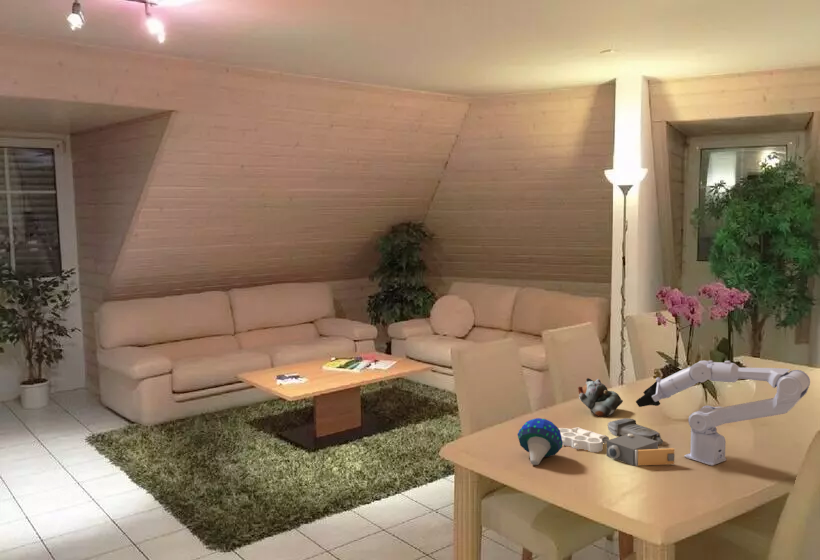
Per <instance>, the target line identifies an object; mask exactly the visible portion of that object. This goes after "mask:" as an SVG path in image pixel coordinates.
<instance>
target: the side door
mask: <svg viewBox="0 0 820 560" xmlns="http://www.w3.org/2000/svg"><path fill="white" fill-rule="evenodd" d="M658 465H659V466H661V465H675V448H674V447H671V448H669V447H668V448H658V449H645V450H635V465H634V466H638V467H639V466H658Z"/></svg>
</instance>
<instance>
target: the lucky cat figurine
mask: <svg viewBox="0 0 820 560" xmlns="http://www.w3.org/2000/svg"><path fill="white" fill-rule="evenodd" d="M577 390H578V391H577V392H578V399H579V400H580V401H581V402H582V403H583V404H584V405H585V406H586V407H587V408H588V409H589V410H590V411H591V412H593V414H594V415H596V416H597V417H601V418H602V417H603V418H607V417H608V416H611V415H612V414H614V412H615V411H616V409H617V408H618V407H620V405H622V404H623V402H624V400H623V399H622V398H621V397H620V395H619V394H618V393H617V392H616V391H612V390H608V387H607V385H605V384H603V383H602V382H601V380H600V379H599V378H597V379H596V380H592V379H591V378H588V377H587V378H586V381H585V382H584V386H578V387H577Z"/></svg>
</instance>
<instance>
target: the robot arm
mask: <svg viewBox="0 0 820 560" xmlns="http://www.w3.org/2000/svg"><path fill="white" fill-rule="evenodd" d="M739 379H741V380H750V381H760V382H762V381H763V382H766V383H768V384H769V385H770V386H771V387H772V388H773V389H775V388H776V393H775V395H774V397H772V398H765V399H760V400H755V401H749V402H745V403H744V402H743V403H739V404H732V405H727V406H712V405H704V406H702V407H700V408H699V409H698V410H696V411H694V412H692V413H691V414H690V415H689V416H688V419H687V420H688V425H689V427H690V453H687V454H684V457H685V458H686V459H690V460H691V461H692V460H693V461H697V462H700V463H702V464H706V465H709V466H715V465H717V464H720V463H723V462H725V461H727V458H726V444H727V443H726V437H725V435H722V434H720V433H718V432H717V427H719V426H721V425H726V424H731V423H737V422H742V421H743V422H744V421H748V420H755V419H762V418H767V417H773V416H778V415H779V416H781V415H784V414H787V413H788V412H789V411H791V410H792V409H793V408H794V407H795V405H797V404H798V402H800V400H801V399H803V398H804V397H805V395H806V394H807V392H808V390H809V388H810V385H811V379H810V376H809V375H808V373H806V372H805V371H803V370H800V369H793V370H791V368H787V367H786V368H784V367H782V368H781V367H740V366H739V365H737V363H735V362H731V360H725V361H724V362H721V361H720V362H719V361H718V362H717V361H714V360H712V359H710V360H705V359H704V360H699V361H698V362H696V363H693V364H692V365H690V366H688V367H686V368H683V369H680V370H679V371H676V372H675V373H672V374H670V375H669V376H666V377H665V378H661V377H660V376H657V377H656V378H655V382H654V383H653V384H652V385H650V386H649V387H648V388H646V389H645V390H644V391H643V395H642V396H641V397H639V398H637V400H636V401H635V403H636V405H637V406H638V407H639V408H642V407H647V406H655V407H658V406H661V402H660V401H661V400H663V399H664V400H665V399H669V398H671V397H672V396H674V395H676V394H678V393H680V392H681V393H682V392H683V391H684V390H687V389H689V388H691V387H693V386H695V385H696V384H698V383H705V382H706V381H708V380H709V381H712V382H723V383H736V382H737V381H738V380H739Z"/></svg>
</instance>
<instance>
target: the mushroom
mask: <svg viewBox="0 0 820 560" xmlns="http://www.w3.org/2000/svg"><path fill="white" fill-rule="evenodd" d="M517 439H518V441H519V442H518V443H519V445H520V447H521V448H523V450H525V451H526V452H527V453H529V458H530V459H529V460H530V464H531V465H532V466H538V465H539V464H540V463H541V462H542V460H543V458H544V457H545V458H548V457H553V456H556V454H557V453H559V451H560V450H561V449H562V448H563V442H562V437H561V433H560V430H559V429H558V426H557V425H556V424H555V423H554V422H553V421H550V420H549V419H546V418H540V417H537V418H532V419H530V420H527V421H526V422H525V423H523V425H522V426H521V427H520V429H519V430H518V433H517Z"/></svg>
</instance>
